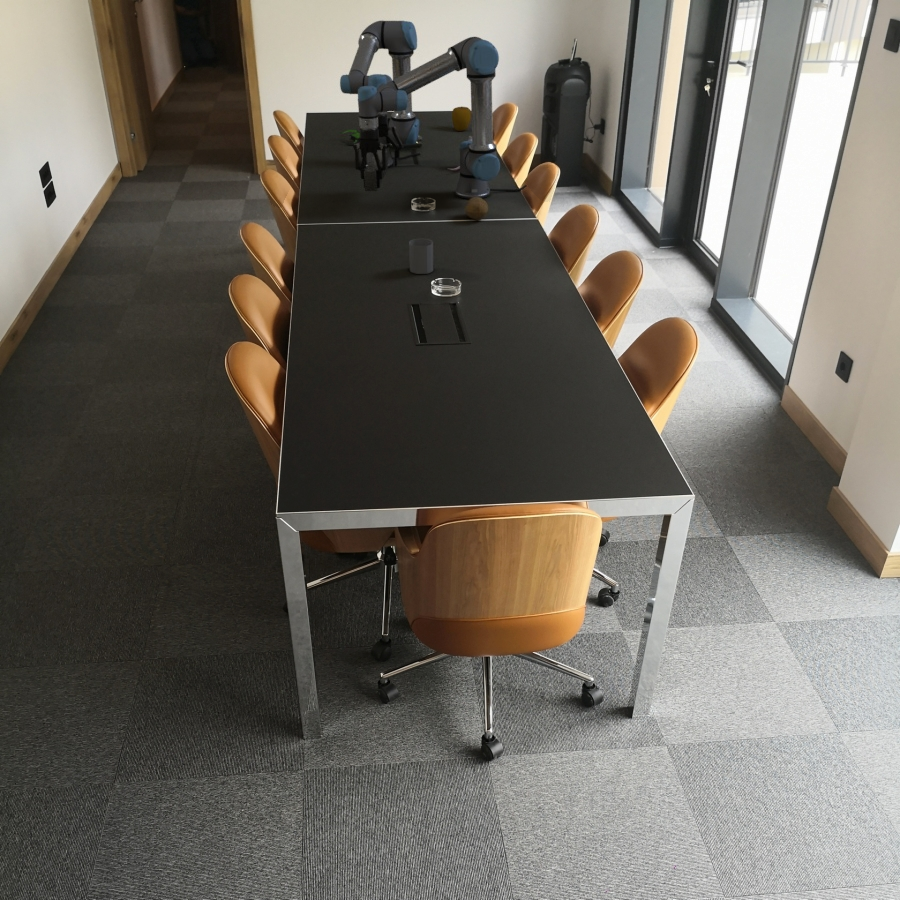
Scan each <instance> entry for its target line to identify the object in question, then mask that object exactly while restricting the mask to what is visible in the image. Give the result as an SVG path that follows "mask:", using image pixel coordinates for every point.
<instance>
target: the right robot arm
mask: <svg viewBox="0 0 900 900" xmlns="http://www.w3.org/2000/svg"><path fill="white" fill-rule="evenodd" d="M499 55H500V54H499V51H498V49H497V48H496V46H495V45H494V44H493V43H492V42H490V41H488V40H486V39H483V38H481V37H478V36H470V37H467V38H464V39H463V40H461V41H459V42H457V43H455V44H454V45H452V46H450V47H448V48H447V51H446V52H444V53H442V54H441V55H438V56H437V57H435V58H432V59H431V60H429V61H427V62H425V63H423V64H421V65H419V66H417V67H416V68H414V69H411V71H410V72H408V73H406V74H404V75H402V76H400V77H398V78H396V79H394V80H393V79H392V81H390V82H388V83H382V84H379V85H378V86H377V87H374V86H363V87H360V88H359V89H358V94H357V107H358V123H359V128H360V129H359V132H360V142H359V143H357V144H354V145H352V147H353V150H354V160H355V170H357V171H360V179H361V180H363V188H364V189H365V181H364V170H365V168H366V167H365V161H366V156H367V153H369V152H371V153H373V155H374V157H375V161H376V164H377V167H378V171H377V187H378V189H380V187H381V184H380V179H382V171H383V170H385V169H386V147H387V145H386V144H382V143H380V141H379V129H378V112H387V113H388V112H394V111H402V110H406V109H407V106H408V99H407V95H408V94H410V93H414V92H416V91H418V90H419V89H421V88H423V87H426V86H427V85H429V84H431V83H433V82H435V81H436V80H439V79H441V78H443V77H445V76H447V75H449V74H451V73H453V72H454V71H455V72H460V71H463V70H465V69H466V71H465V72H466V79H467V80H468V81H469V82H470V111H471V137H472V141H468V140H465V141H462V142H461V143H460V145H459V166H460V169H459V178H458V181H457V185H456V188H455V196H456V197H457V198H460V199H465V200H470V199H471V198H473V197H479V198H482V199H486V198H488V197H490V195H491V192H520V191H522V190H524V189H525V188H527V187H528V185H527V184H524V185H523V186H522V187H520V188H510V189H509V188H490V186H489V183H488V182H489V181H491V180H492V181H493V179H494V178H496V177H497V175H498V174H499V172H500V170H501V163H500V159H499V158H498V155H497V144H496V143H495V142H494V135H493V134H494V133H493V132H494V131H493V130H494V129H493V125H494V124H493V123H494V122H493V80H494V79H495V78H496V69H497V67H498V65H499V61H500V56H499ZM359 146H361V148H362V149H363V150H364V152H363V157H361V163H360V149H359V148H360V147H359ZM379 146H380V147H381V149H382V165H383V167H382V166H381V163H380V160H379V156H378V152H377V149H378V147H379Z"/></svg>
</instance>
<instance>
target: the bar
mask: <svg viewBox="0 0 900 900" xmlns="http://www.w3.org/2000/svg"><path fill="white" fill-rule="evenodd" d="M377 152H378V156H379V160H380V163H381V166H382V167H383V165H382V151H377ZM388 170H389V167H388V158H387V151H386V169H385V170H383V171H382V179H380V185H381V184H382V182H383V180H384V178H385V176H386V174H387V172H388ZM377 171H378V167H377V164H376V161H375V157H374V155H373V157H372V159H371V160H370V162H369V164H368V165H367V167H365V168H364V179H363V182H364V181H365V188H364V191H365V192H377V191H378V190H379V188H378V187H377Z"/></svg>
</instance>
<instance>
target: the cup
mask: <svg viewBox="0 0 900 900" xmlns="http://www.w3.org/2000/svg"><path fill="white" fill-rule="evenodd" d="M408 253H409V272H411V273H412V274H416V275H426V274H430V273H432V272H434V241H433V240H431V239H428V238H422V237H421V238H420V237H419V238H414V239H411V240H410V241H409V242H408Z"/></svg>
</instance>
